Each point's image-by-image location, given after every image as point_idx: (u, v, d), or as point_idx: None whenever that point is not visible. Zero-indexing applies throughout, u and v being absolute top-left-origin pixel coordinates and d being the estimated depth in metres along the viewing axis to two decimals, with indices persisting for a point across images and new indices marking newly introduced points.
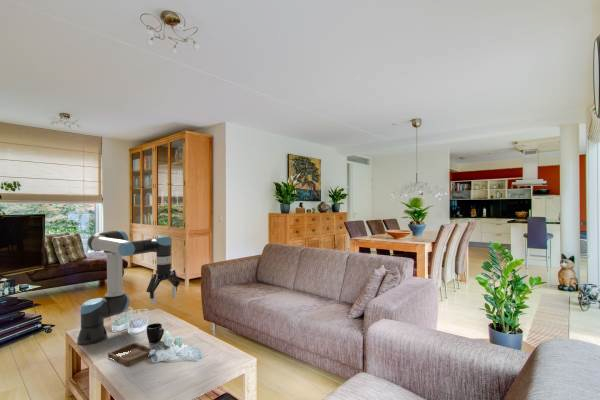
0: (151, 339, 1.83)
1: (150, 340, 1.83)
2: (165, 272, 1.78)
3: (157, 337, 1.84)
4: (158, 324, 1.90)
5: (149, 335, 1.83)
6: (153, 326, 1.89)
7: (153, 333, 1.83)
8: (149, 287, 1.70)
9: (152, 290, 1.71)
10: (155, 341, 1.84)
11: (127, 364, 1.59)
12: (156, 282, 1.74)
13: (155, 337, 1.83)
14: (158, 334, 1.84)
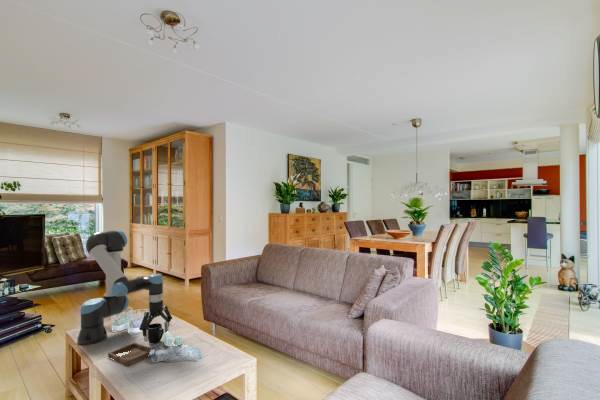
0: (151, 339, 1.83)
1: (150, 340, 1.83)
2: (157, 309, 1.85)
3: (157, 337, 1.84)
4: (158, 324, 1.90)
5: (149, 335, 1.83)
6: (153, 326, 1.89)
7: (153, 333, 1.83)
8: (142, 325, 1.77)
9: (145, 328, 1.78)
10: (155, 341, 1.84)
11: (127, 364, 1.59)
12: (149, 319, 1.81)
13: (155, 337, 1.83)
14: (158, 334, 1.84)
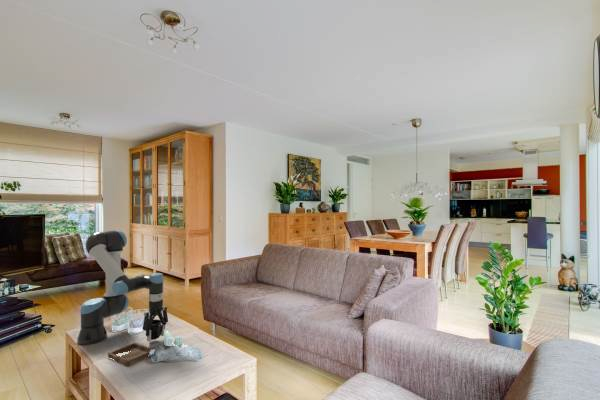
0: None
1: None
2: (157, 308, 1.85)
3: (156, 333, 1.84)
4: (157, 320, 1.90)
5: None
6: (152, 322, 1.90)
7: (152, 329, 1.83)
8: (144, 326, 1.79)
9: (148, 328, 1.80)
10: (154, 337, 1.84)
11: (127, 364, 1.59)
12: (150, 319, 1.82)
13: (154, 333, 1.84)
14: (157, 330, 1.85)
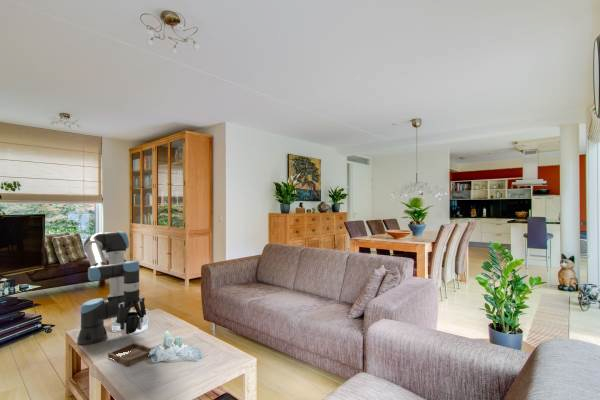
0: None
1: None
2: (133, 299, 1.69)
3: (132, 327, 1.68)
4: (134, 313, 1.74)
5: None
6: (129, 315, 1.73)
7: (128, 322, 1.66)
8: (118, 318, 1.63)
9: (122, 321, 1.64)
10: (130, 331, 1.68)
11: (127, 364, 1.59)
12: (125, 311, 1.66)
13: (130, 327, 1.67)
14: (133, 323, 1.68)
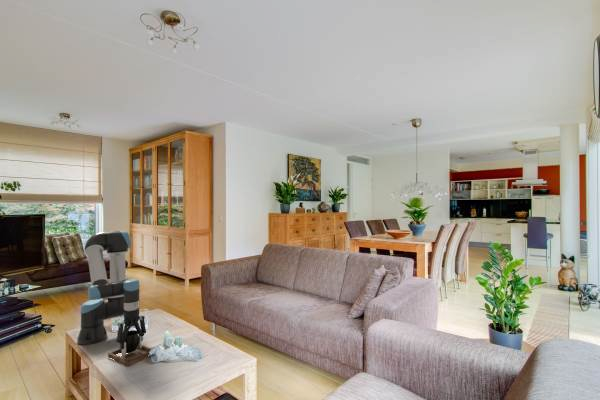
0: None
1: None
2: (133, 318, 1.69)
3: (132, 346, 1.68)
4: (134, 331, 1.74)
5: None
6: (129, 333, 1.73)
7: (128, 341, 1.66)
8: (118, 338, 1.63)
9: (122, 340, 1.64)
10: (130, 350, 1.68)
11: (127, 364, 1.59)
12: (125, 331, 1.66)
13: (130, 346, 1.67)
14: (133, 342, 1.68)
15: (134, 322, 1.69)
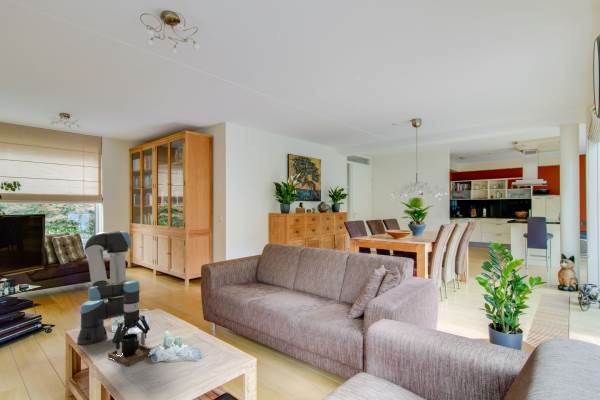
0: (125, 352, 1.67)
1: (124, 352, 1.67)
2: (133, 319, 1.69)
3: (132, 349, 1.68)
4: (134, 334, 1.74)
5: (123, 347, 1.66)
6: (128, 337, 1.73)
7: (127, 345, 1.66)
8: (115, 338, 1.61)
9: (118, 340, 1.62)
10: (130, 353, 1.68)
11: (127, 364, 1.59)
12: (123, 331, 1.65)
13: (129, 349, 1.67)
14: (133, 346, 1.68)
15: (135, 323, 1.70)
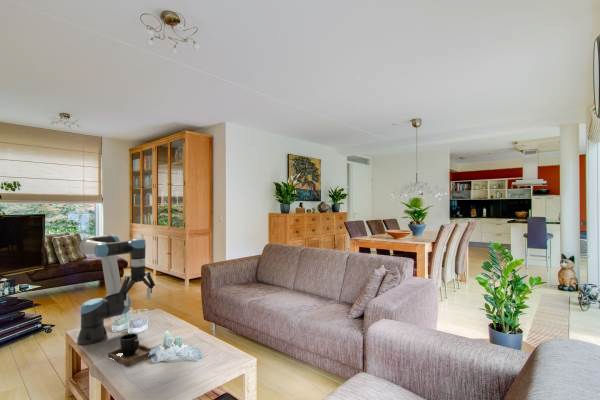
0: (125, 352, 1.67)
1: (124, 352, 1.67)
2: (139, 274, 1.80)
3: (132, 349, 1.68)
4: (134, 334, 1.74)
5: (123, 347, 1.66)
6: (128, 337, 1.73)
7: (127, 345, 1.66)
8: (122, 289, 1.73)
9: (125, 292, 1.74)
10: (130, 353, 1.68)
11: (127, 364, 1.59)
12: (129, 284, 1.77)
13: (129, 349, 1.67)
14: (133, 346, 1.68)
15: (141, 278, 1.81)
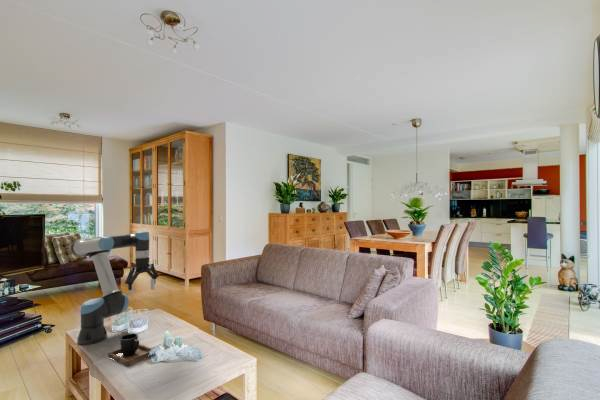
0: (125, 352, 1.67)
1: (124, 352, 1.67)
2: (143, 265, 1.88)
3: (132, 349, 1.68)
4: (134, 334, 1.74)
5: (123, 347, 1.66)
6: (128, 337, 1.73)
7: (127, 345, 1.66)
8: (127, 279, 1.81)
9: (130, 282, 1.81)
10: (130, 353, 1.68)
11: (127, 364, 1.59)
12: (134, 274, 1.85)
13: (129, 349, 1.67)
14: (133, 346, 1.68)
15: (145, 269, 1.89)
